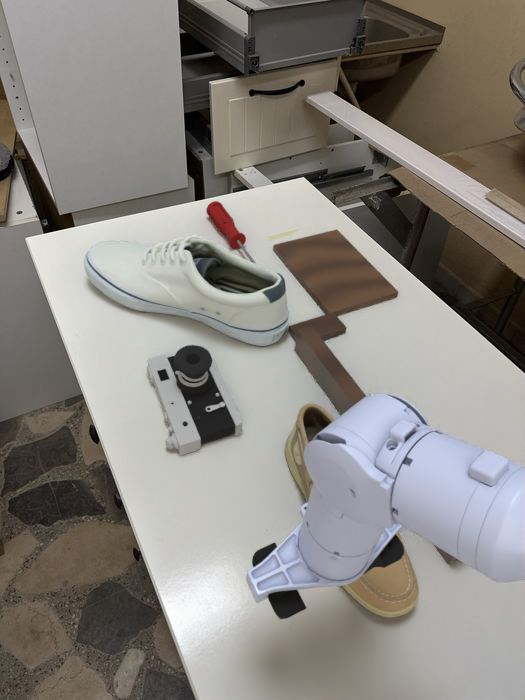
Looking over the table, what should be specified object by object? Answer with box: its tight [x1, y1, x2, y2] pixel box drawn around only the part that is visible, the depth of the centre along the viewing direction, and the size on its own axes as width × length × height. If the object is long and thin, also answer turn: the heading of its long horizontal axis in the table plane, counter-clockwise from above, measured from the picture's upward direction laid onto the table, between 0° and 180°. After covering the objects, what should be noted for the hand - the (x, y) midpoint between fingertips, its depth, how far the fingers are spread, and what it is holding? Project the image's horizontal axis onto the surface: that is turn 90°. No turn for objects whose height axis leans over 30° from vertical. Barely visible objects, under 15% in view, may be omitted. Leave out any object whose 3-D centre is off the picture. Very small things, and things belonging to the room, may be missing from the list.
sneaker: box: [83, 234, 291, 347], centre depth 82 cm, size 13×35×12 cm, turn 70°
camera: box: [146, 344, 243, 456], centre depth 70 cm, size 15×7×10 cm
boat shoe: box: [284, 402, 420, 618], centre depth 59 cm, size 9×25×8 cm, turn 25°
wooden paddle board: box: [272, 229, 458, 565], centre depth 79 cm, size 60×23×4 cm, turn 27°
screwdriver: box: [206, 201, 257, 264], centre depth 95 cm, size 4×25×4 cm, turn 26°
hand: (317, 584), depth 49 cm, fingers open, 7 cm apart
